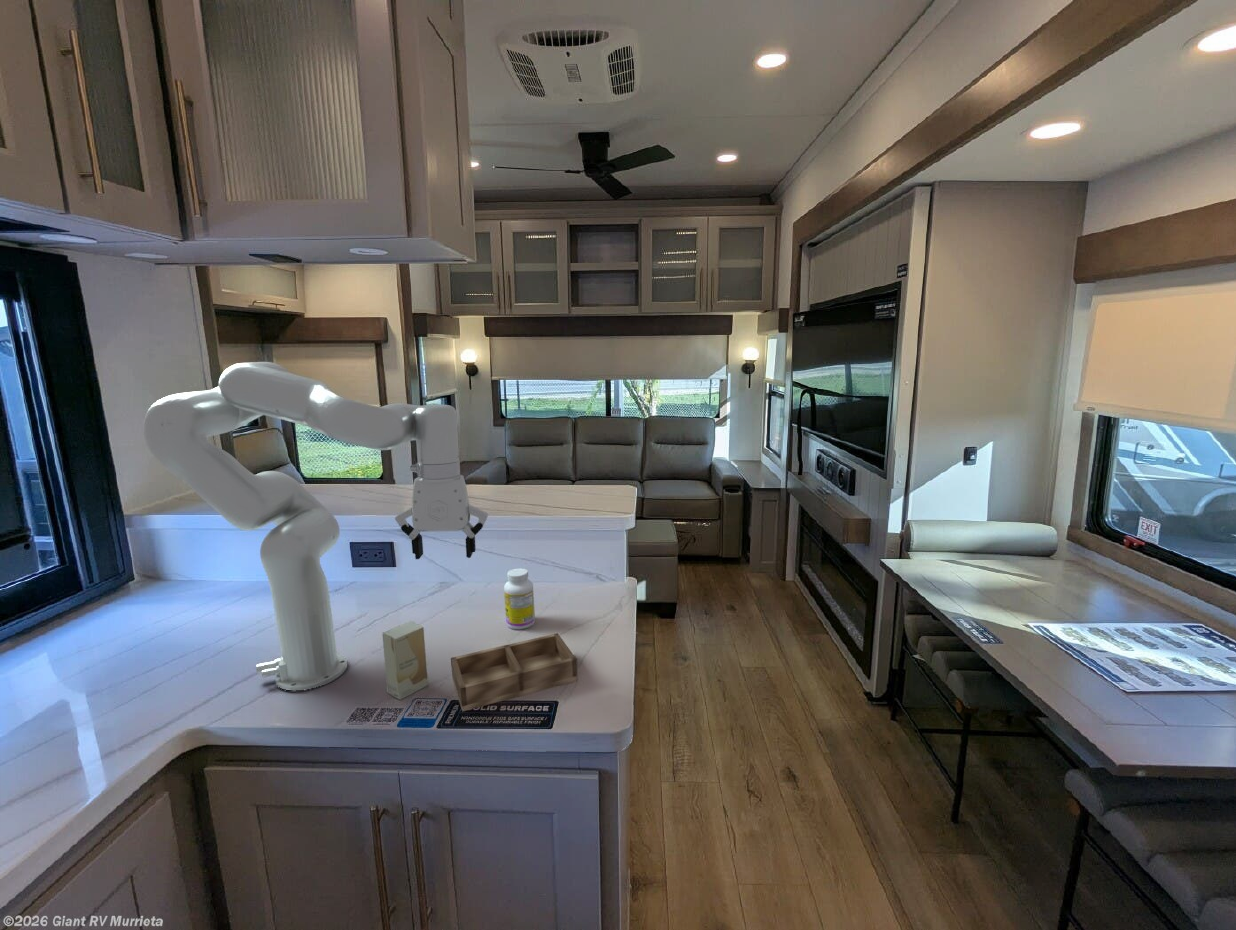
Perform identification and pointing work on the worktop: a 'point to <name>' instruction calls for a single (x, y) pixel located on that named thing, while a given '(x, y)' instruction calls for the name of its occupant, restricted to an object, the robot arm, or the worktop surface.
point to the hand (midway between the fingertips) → (444, 556)
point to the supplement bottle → (519, 599)
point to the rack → (512, 671)
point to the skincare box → (405, 659)
